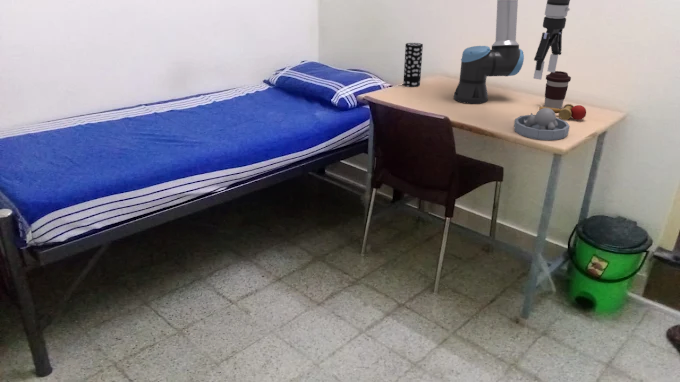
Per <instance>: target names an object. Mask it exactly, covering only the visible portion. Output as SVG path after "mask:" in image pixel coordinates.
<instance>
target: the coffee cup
mask: <svg viewBox="0 0 680 382" xmlns="http://www.w3.org/2000/svg"><path fill="white" fill-rule="evenodd" d="M571 79H572V77H571V76H570V75H569V73H568V72H566V71H561V70H559V71H558V70H555V72H549V73H548V74H546V75H545V80H546V83H545V88H544V89H545V91H544V105H543V107H549V108H558V109H562V108H563V104H564V100H565V99H566V95H567V91H568V87H569V83H570V82H571Z"/></svg>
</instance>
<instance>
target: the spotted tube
mask: <svg viewBox="0 0 680 382" xmlns="http://www.w3.org/2000/svg"><path fill="white" fill-rule="evenodd" d="M423 45H424V44H423V43H419V42H407V43H405V46H404V47H405V48H404V49H405V50H404V66H403V67H404V68H403V82H402V83H403V84H402V85H403V86H404V87H407V88H418V87H420V86H421V77H422V76H421V75H422V62H423V61H422V60H423V49H424V47H423Z"/></svg>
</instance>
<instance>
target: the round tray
mask: <svg viewBox="0 0 680 382" xmlns="http://www.w3.org/2000/svg"><path fill="white" fill-rule="evenodd" d="M528 115H529V114H526V115H519V116H518V117H516V118H515V119H514V123H513V124H514V125H513V127H514V132H515V133H516V134H518V135H520V136H522V137H525V138H529V139H533V140H540V141H557V140H558V139H559V140H561V139H565V138H566V137H567V135H569V131H570V128H571V127H570V125H569V123H568V122H567V120H564V119H561V118H560V117H559V118H558V117H556V119H555V120H556V121H557V123H558V126H557V127H555V129H554V130H548V129H547V130H540V126H539V125H538V124H536V125H533V126H532V127H531V128H530V127H526V126H525V123H524V119H525V121H526V120H527V119H528Z"/></svg>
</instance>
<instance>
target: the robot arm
mask: <svg viewBox="0 0 680 382" xmlns="http://www.w3.org/2000/svg"><path fill="white" fill-rule="evenodd" d="M518 1H519V0H497V1H496V19H495V22H496V23H495V42H494V43H493V44H491V47H490V46H488V45H474V46H469V47H467V48H465V49H464V50H463V51H462V55H461V59H460V62H461V63H460V73H459V81H458V84H457V87H456V89H455V92H454V94H453V99H454V101H456V102H458V103H459V102H460V103H463V104H470V105H473V104H474V105H478V104H479V105H480V104H484V103H486V102H488V99H489V92H488V89H487V77H511V76H516V75H517V74H519V73H520V71H521V69H522V67H523V65H524V59H525V54H524V50H522V49H521V48H520V44H519V42H517V22H518V6H519V5H518V3H519V2H518ZM570 1H571V0H546V5H545V10H544V15H545V16H544V17H543V23H542V27H543V28H544V29H546V32H542V34H541V38H540V41H539V44H538V47H537V51H536V52H535V56H534V58H533V61H535V67H534V73H533V79H536V80H542V77H543V72H544V68H545V58H546V57H547V54H548V52H549V49H550V51H551V53H550V57H549V61H548V67H547V72H549V73H551V72H555V71H556V69H557V64H558V58H559V56H561V55H562V40H563V38H562V35H563V29H565V27H566V22H567V18H566V17H567V16H568V12H569V11H570V10H571V9H570V8H569V6H570Z"/></svg>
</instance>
